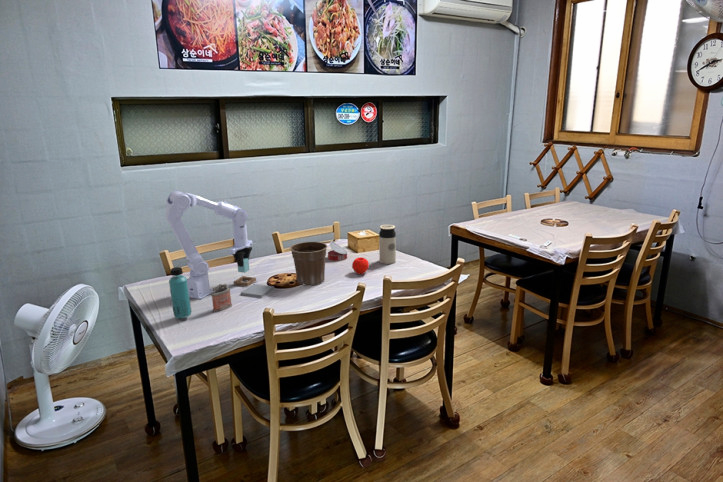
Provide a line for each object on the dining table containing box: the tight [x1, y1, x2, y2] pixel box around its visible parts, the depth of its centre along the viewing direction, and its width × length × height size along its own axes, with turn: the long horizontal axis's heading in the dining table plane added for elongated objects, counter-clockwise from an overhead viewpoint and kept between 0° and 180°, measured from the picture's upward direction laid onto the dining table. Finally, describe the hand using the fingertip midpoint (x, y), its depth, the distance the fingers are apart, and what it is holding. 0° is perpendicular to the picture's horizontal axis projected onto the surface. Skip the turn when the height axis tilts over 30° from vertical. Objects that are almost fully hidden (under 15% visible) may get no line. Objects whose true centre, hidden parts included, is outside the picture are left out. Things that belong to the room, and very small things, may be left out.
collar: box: [233, 275, 257, 287], centre depth 213 cm, size 7×7×2 cm
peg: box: [236, 258, 250, 274], centre depth 211 cm, size 4×4×6 cm
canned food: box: [327, 240, 348, 262], centre depth 244 cm, size 11×10×10 cm
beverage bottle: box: [168, 266, 192, 319], centre depth 177 cm, size 6×7×20 cm
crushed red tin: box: [210, 282, 233, 313], centre depth 187 cm, size 8×3×10 cm, turn 141°
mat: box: [240, 283, 275, 298], centre depth 204 cm, size 10×10×1 cm
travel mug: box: [378, 224, 397, 265], centre depth 235 cm, size 8×8×18 cm
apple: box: [351, 257, 370, 275], centre depth 221 cm, size 8×8×7 cm
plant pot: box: [289, 241, 328, 287], centre depth 212 cm, size 16×16×16 cm
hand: (243, 264), depth 211 cm, fingers closed on peg, 3 cm apart
